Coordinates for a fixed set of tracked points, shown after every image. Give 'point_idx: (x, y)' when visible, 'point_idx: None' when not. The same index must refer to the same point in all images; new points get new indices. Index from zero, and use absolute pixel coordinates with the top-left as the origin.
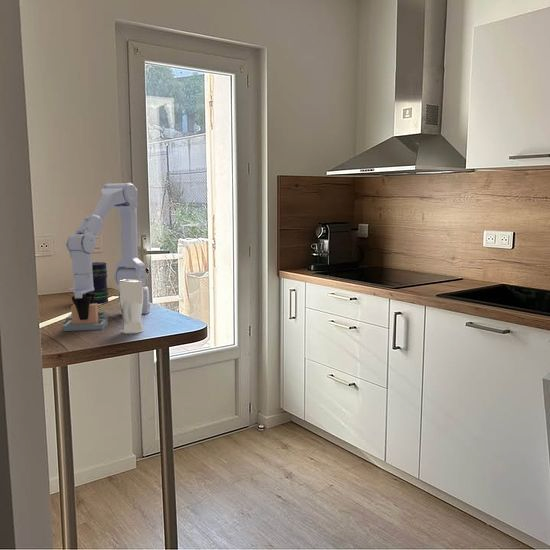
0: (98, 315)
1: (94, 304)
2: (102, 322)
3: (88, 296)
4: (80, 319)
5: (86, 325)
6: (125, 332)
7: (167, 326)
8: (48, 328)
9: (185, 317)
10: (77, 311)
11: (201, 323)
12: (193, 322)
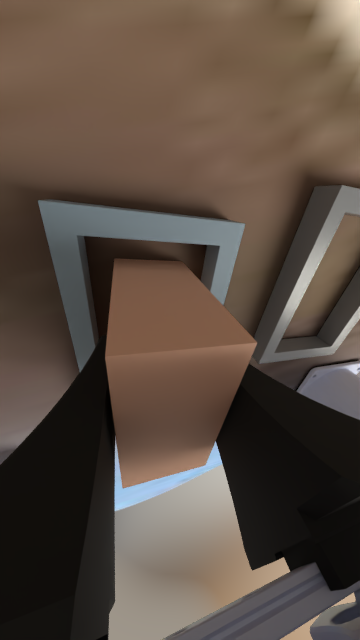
0: (333, 321)
1: (167, 470)
2: None
3: (256, 515)
4: (100, 339)
5: (76, 352)
6: None
7: (117, 483)
8: (181, 18)
9: (204, 471)
10: (79, 375)
11: (137, 503)
12: (150, 494)
